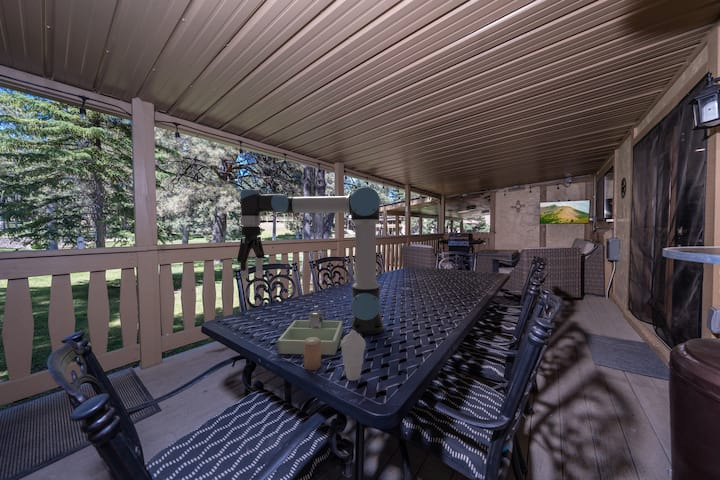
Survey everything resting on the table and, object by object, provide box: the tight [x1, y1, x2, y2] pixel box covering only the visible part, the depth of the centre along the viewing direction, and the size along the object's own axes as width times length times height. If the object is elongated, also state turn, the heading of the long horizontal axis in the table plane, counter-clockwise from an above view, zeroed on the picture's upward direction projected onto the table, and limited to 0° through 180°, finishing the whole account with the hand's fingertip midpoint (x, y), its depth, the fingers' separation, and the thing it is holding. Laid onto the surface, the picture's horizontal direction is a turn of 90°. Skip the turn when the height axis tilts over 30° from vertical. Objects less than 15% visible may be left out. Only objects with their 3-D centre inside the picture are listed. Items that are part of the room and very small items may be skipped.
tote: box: [276, 319, 344, 356], centre depth 112 cm, size 22×22×6 cm
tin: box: [308, 310, 324, 328], centre depth 118 cm, size 6×6×10 cm
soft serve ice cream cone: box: [339, 329, 367, 382], centre depth 87 cm, size 8×8×16 cm
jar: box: [303, 337, 322, 371], centre depth 95 cm, size 6×6×9 cm
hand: (252, 275), depth 117 cm, fingers open, 13 cm apart
